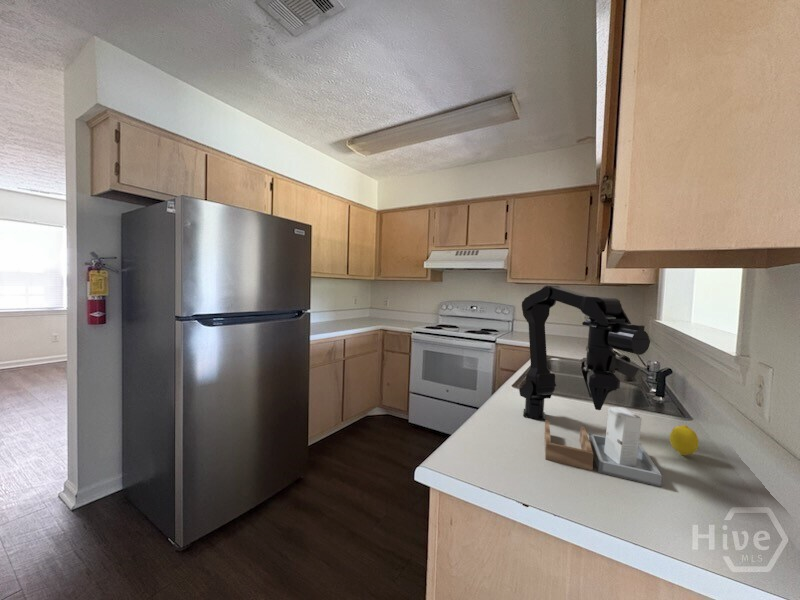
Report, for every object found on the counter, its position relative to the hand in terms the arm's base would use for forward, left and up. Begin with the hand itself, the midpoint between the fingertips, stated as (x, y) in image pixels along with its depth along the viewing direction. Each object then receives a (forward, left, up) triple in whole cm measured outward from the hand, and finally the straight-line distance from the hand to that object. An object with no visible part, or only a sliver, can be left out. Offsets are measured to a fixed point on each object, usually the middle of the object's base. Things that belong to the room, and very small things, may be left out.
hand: (594, 403), depth 83 cm
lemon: (-8, +22, -13) cm, 26 cm away
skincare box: (+4, +6, -12) cm, 14 cm away
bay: (+3, -6, -12) cm, 14 cm away
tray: (+4, +6, -12) cm, 14 cm away
